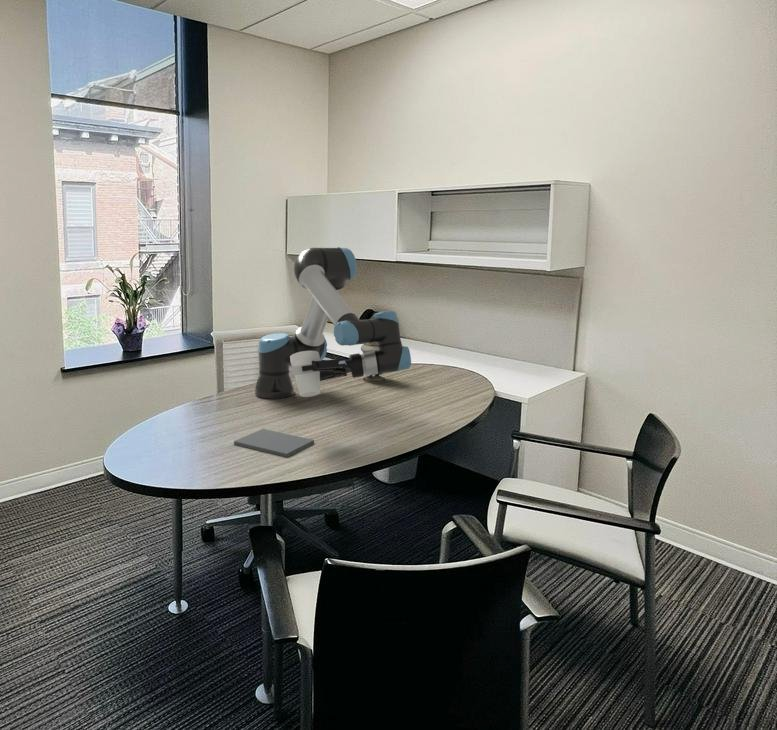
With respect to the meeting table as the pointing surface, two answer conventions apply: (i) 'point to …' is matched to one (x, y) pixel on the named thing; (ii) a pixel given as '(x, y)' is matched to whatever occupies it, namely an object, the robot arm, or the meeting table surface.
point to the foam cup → (309, 381)
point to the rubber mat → (274, 442)
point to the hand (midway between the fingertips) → (293, 375)
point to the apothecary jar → (368, 348)
